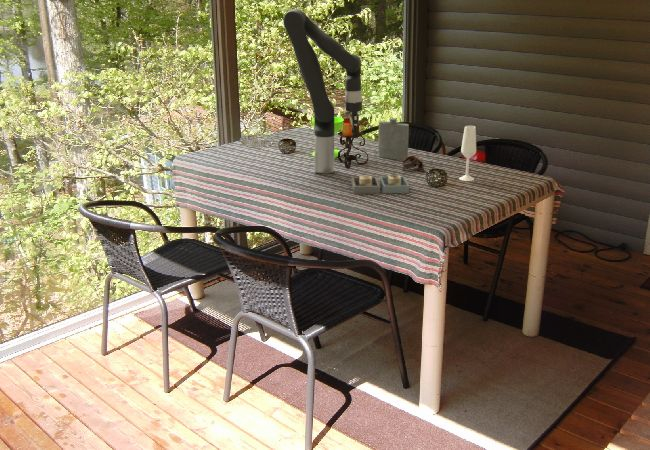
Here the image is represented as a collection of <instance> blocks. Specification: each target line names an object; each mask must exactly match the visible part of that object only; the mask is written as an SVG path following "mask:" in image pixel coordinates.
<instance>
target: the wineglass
mask: <svg viewBox="0 0 650 450" xmlns="http://www.w3.org/2000/svg"><path fill="white" fill-rule="evenodd" d="M343 121H344V122H345V120H344V118H342V117H340V116H334V135H336V134H337V133H339V131H340V130H341V129H342V128H343V126H342V125H344V122H343ZM311 122H312V126H313V127H314V124H315V121H314V118H312V119H311ZM339 151H340V149H335V148H334V159H337V158H336V157H338V152H339ZM311 155H312V156H313V157H314V151H313V152H312V154H311Z"/></svg>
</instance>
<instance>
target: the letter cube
mask: <svg viewBox="0 0 650 450" xmlns="http://www.w3.org/2000/svg"><path fill="white" fill-rule="evenodd" d="M387 177H388V186H401V177H402V176H401V175H400V174H398V175H397V174H396V175H395V174H391V175H387Z"/></svg>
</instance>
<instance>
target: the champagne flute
mask: <svg viewBox="0 0 650 450" xmlns="http://www.w3.org/2000/svg"><path fill="white" fill-rule="evenodd" d="M460 152H461V154H462V156H464V158H466V163H465V165H466V166H465V175H462V176H461V177H459V178H458V179H459V180H460V181H464V182H472V181H474V180H475V178H473V177H472V176H471V175H470V174H469V169H470V168H469V166H470V159H471V158H472V157H474V155H475V154H476V153H477V130H476V126H475V125H465V126H464V130H463V136H462V141H461V148H460Z"/></svg>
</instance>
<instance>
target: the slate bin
mask: <svg viewBox="0 0 650 450" xmlns="http://www.w3.org/2000/svg"><path fill="white" fill-rule="evenodd" d="M400 177H401V186H388V176H379V185H380V189H381V190H382V193H383V194H409V193H410V185H409V182H408V180H407V179H406V177H405V176H400Z"/></svg>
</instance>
